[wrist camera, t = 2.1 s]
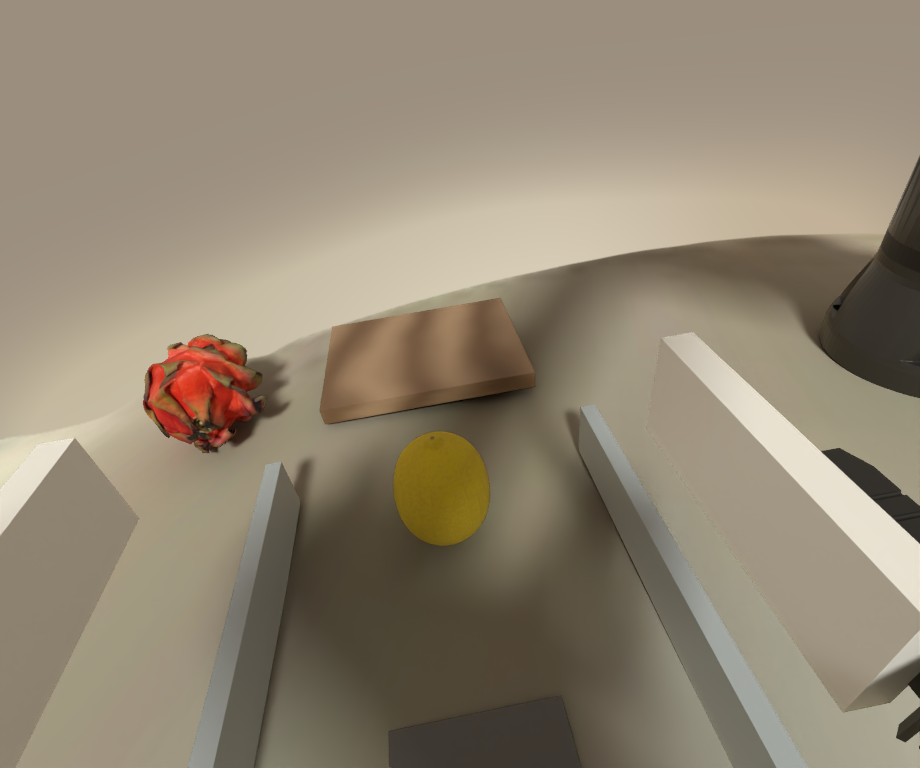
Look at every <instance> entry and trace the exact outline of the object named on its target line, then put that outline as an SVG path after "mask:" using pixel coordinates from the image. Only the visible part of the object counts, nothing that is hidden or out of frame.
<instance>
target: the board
mask: <svg viewBox="0 0 920 768" xmlns="http://www.w3.org/2000/svg"><path fill="white" fill-rule="evenodd" d="M529 387H535V371H534V369H533V367H532V364H531V362H530V360H529V358H528V356H527V354H526V352H525V349H524V347H523V345H522V343H521V341H520V339H519V337H518V334H517V332H516V330H515V328H514V326H513V324H512V322H511V319H510V317H509V315H508V313H507V311H506V309H505V307H504V304H503V302H502V300H501V298H497V299H491V300H485V301H479V302H474V303H468V304H462V305H456V306H450V307H445V308H439V309H433V310H427V311H421V312H416V313H410V314H404V315H398V316H392V317H387V318H381V319H375V320H369V321H363V322H358V323H352V324H346V325H340V326H334V327H332V333H331V339H330V346H329V353H328V359H327V366H326V372H325V379H324V385H323V392H322V399H321V405H320V413H321V416H322V418H323V421H324V423H325V424H330V423H335V422H341V421H346V420H352V419H358V418H363V417H369V416H374V415H380V414H385V413H391V412H396V411H402V410H407V409H413V408H418V407H424V406H430V405H435V404H441V403H446V402H452V401H457V400H463V399H468V398H474V397H479V396H485V395H490V394H496V393H502V392H507V391H513V390H518V389H524V388H529Z"/></svg>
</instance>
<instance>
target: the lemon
mask: <svg viewBox="0 0 920 768" xmlns="http://www.w3.org/2000/svg"><path fill="white" fill-rule="evenodd" d="M393 491H394V499H395V503H396V506H397V510H398V513H399V515H400V517H401V519H402V521H403V522H404V524H405V525H406V526H407V528H408V529H409V530H410V532H411V533H413V534H414V535H415V536H416V537H418V538H419V539H420V540H422V541H425V542H427V543H430V544H433V545H440V546H446V545H453V544H457V543H460V542H462V541H464V540H465V539H467V538H469V537H470V536H471V535H472V534H474V533H475V532H476V531H477V530H478V528H479V527H480V525H481V524H482V522H483V521H484V519H485V516H486V513H487V510H488V507H489V502H490V484H489V478H488V474H487V472H486V469H485V466H484V463H483V461H482V458H481V457H480V455H479V453H478V452H477V451H476V449H475V448H474V447H473V446H472V444H471V443H469V442H468V441H467V440H465V439H464V438H462V437H461V436H458V435H456V434H453V433H449V432H443V431H436V432H430V433H427V434H424V435H421V436H420V437H418V438H416V439H414V440H413V441H412V442H411V443H409V444H408V445H407V446H406V447H405V449H404V450H403V451H402V453H401V454H400V456H399V459H398V461H397V464H396V467H395V472H394V485H393Z"/></svg>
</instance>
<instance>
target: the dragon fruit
mask: <svg viewBox="0 0 920 768" xmlns="http://www.w3.org/2000/svg"><path fill="white" fill-rule="evenodd" d="M167 350H168V355H169V357H168V359H167V360H166V361H164V362H162V363H158V364H153V365H151V367H149V369H148V371H147V373H146V375H145V394H144V400H143V406H144V410H145V412H146V413H147V415H148V416H149V417H150V418H151V419H152V420H153V421H154V422H155V424H156V425H157V426H158V427H159V429H160V428H161V429H160V430H161V432H162V433H163V434H164V435H165V436H166V437H168V438H169V437H170V436H169V435H171V436H173V437H174V438H176V439H178V440H181V441H184V442H186V443H189V444H192V442H194V445H195V447H197V448H199V449H200V450H201V451H202V453H210V452H209V447H210V446H213V447H221V446H222V445H223V444H224V443H225V444H226V441H227V440H228V441H229V440H231V439H232V438H233V437H234V435H235V434H236V428H235V429H234V431H233V433H232V430H230V431H228V428H229V427H230V426H231V425H232V424H233V422H234V421H235V420H236V421H240V422H247V421H248V420H249V419H251V417H252V416H253V415H256V414H258V413H260V412H262V411H263V409H264V408H265V403H266V400H267V396H266V395H264V396H262V395H261V396H259V397H257V398H255V399H251V398H250V397H249V395H248V394H247V391H250V390H253V389H255V388H257V387H258V386H259V385H260V383H261V381H262V374H261V373H260V372H256V371H254V370H251V369H249V368H248V367H246V366H245V364H246V362H247V354H246V352H247V351H246V349H245V348H244V347H243V346H241V345H239V344H237V343H231V342H230V341H228V340H222V339H218V338H217V337H215V336H213V335H209V334H206V335H202V336H198V337H195V338H193V339H192V340H191V341H190V342H189V343H188V346H186V345H184V344H182V343H181V342H180V343H176V344H173V345H170V346H168V348H167Z"/></svg>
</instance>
